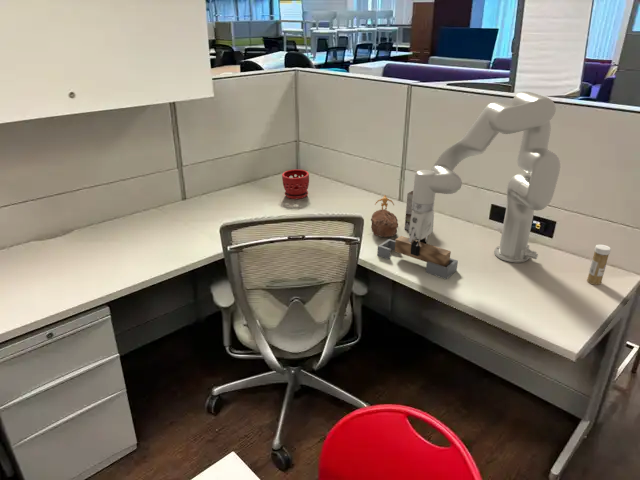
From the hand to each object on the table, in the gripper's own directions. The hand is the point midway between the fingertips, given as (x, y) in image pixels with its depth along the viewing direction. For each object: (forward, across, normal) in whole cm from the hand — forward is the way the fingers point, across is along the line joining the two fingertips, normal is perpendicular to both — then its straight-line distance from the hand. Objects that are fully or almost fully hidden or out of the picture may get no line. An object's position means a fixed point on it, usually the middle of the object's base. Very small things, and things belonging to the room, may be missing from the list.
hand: (418, 252), depth 179 cm
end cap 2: (+5, 0, -10) cm, 11 cm away
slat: (+2, 0, -2) cm, 2 cm away
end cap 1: (+5, 0, +12) cm, 13 cm away
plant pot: (+5, +24, +81) cm, 85 cm away
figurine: (+5, +26, +31) cm, 41 cm away
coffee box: (+5, +28, +16) cm, 33 cm away
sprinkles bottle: (+4, +26, -54) cm, 60 cm away
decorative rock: (+5, +14, +23) cm, 28 cm away
